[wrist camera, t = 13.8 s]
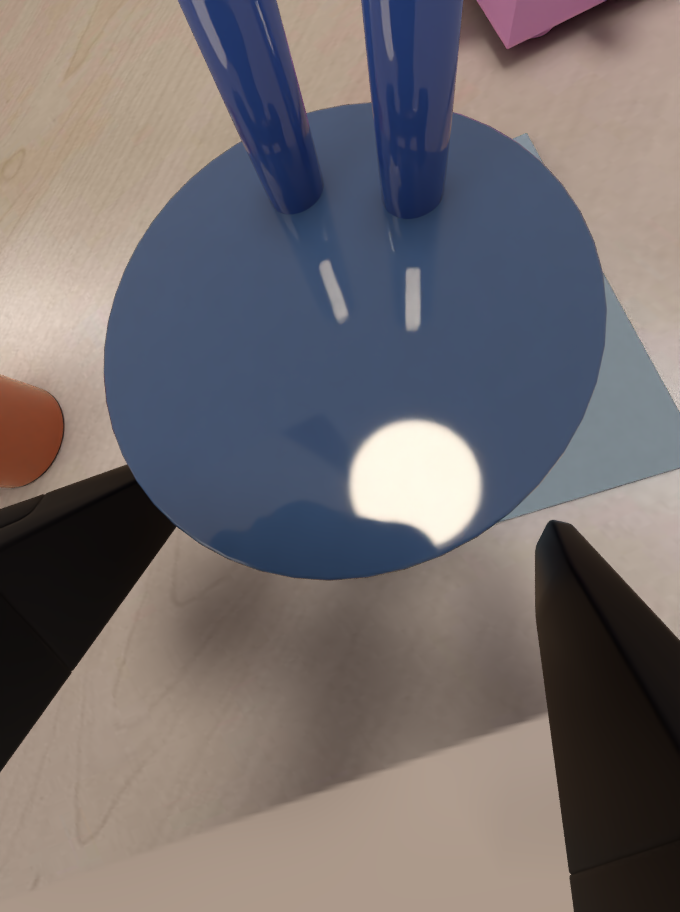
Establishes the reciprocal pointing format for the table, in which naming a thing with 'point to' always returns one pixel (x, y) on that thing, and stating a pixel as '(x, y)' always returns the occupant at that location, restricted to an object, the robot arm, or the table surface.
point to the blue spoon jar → (352, 312)
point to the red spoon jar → (27, 432)
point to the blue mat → (614, 419)
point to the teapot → (530, 16)
